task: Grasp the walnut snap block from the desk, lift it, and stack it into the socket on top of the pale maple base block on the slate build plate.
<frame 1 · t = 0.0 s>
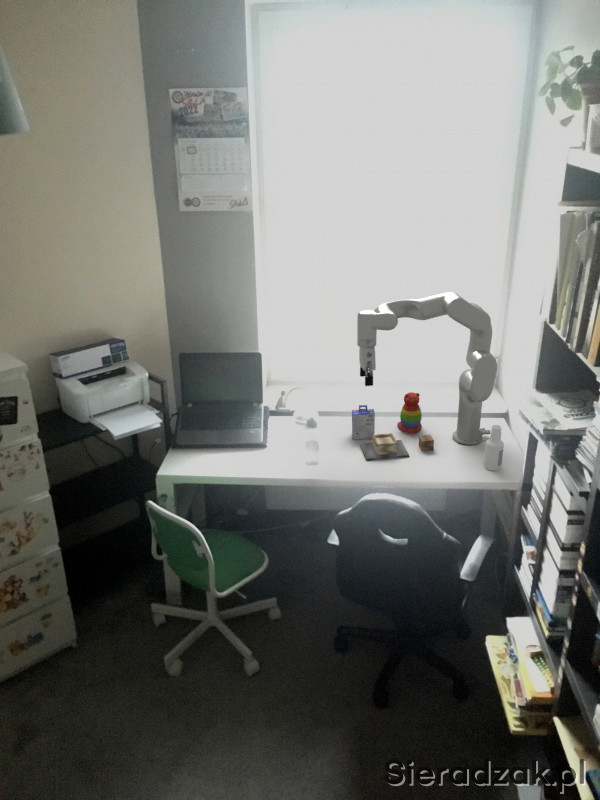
hand: (366, 380, 261), 31 cm above the table, fingers open, 9 cm apart
build base: (384, 451, 271), on the table
stacking bear: (410, 429, 288), on the table
ink cartridge box: (363, 436, 283), on the table
walnut block: (425, 448, 272), on the table
spray bottle: (492, 467, 257), on the table
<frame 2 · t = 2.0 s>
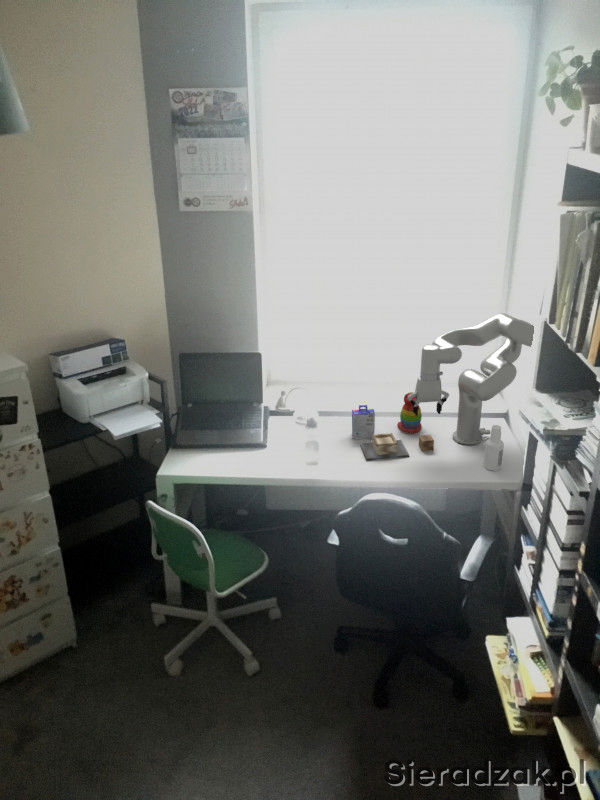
hand: (427, 413, 265), 17 cm above the table, fingers open, 9 cm apart
nothing on the table moved.
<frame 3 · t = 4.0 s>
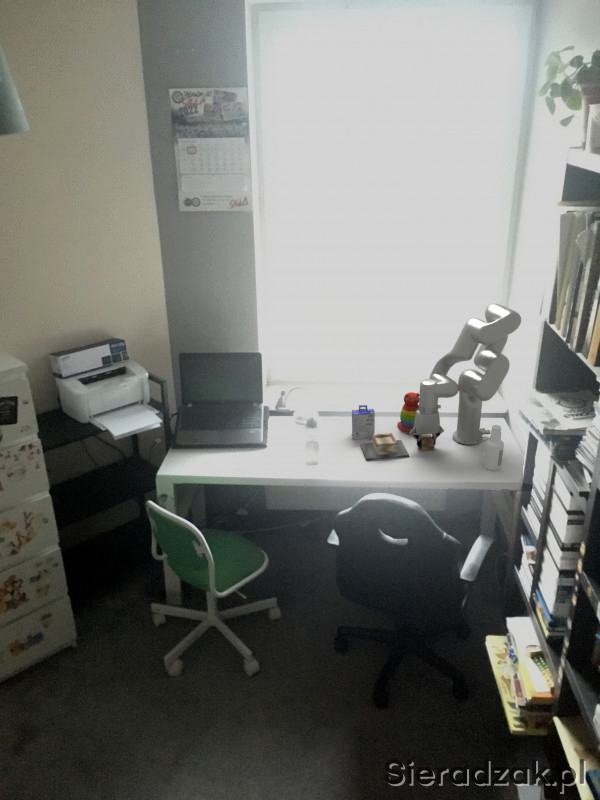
hand: (425, 446, 272), 1 cm above the table, fingers closed on walnut block, 5 cm apart
walnut block: (425, 448, 272), on the table, touching gripper
everything else where it was.
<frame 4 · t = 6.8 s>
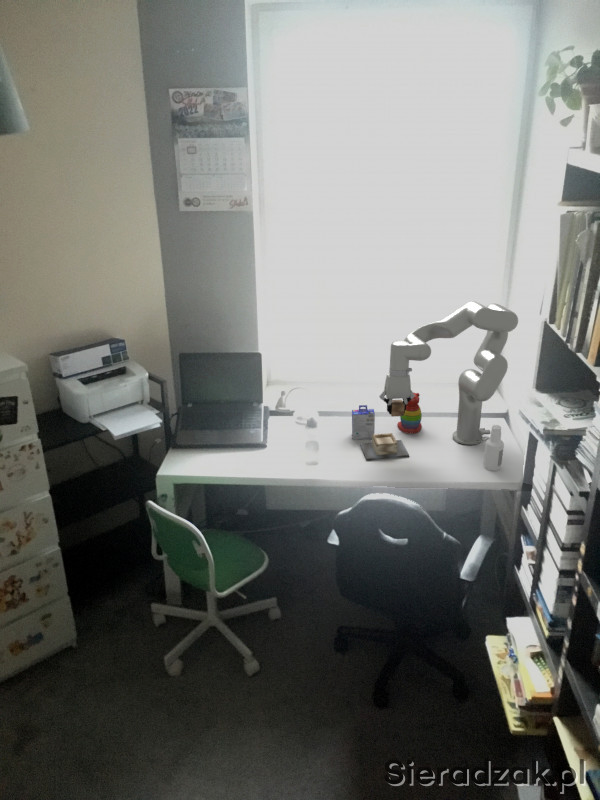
hand: (396, 411, 263), 18 cm above the table, fingers closed on walnut block, 5 cm apart
walnut block: (396, 413, 263), point 18 cm above the table, touching gripper
everything else where it was.
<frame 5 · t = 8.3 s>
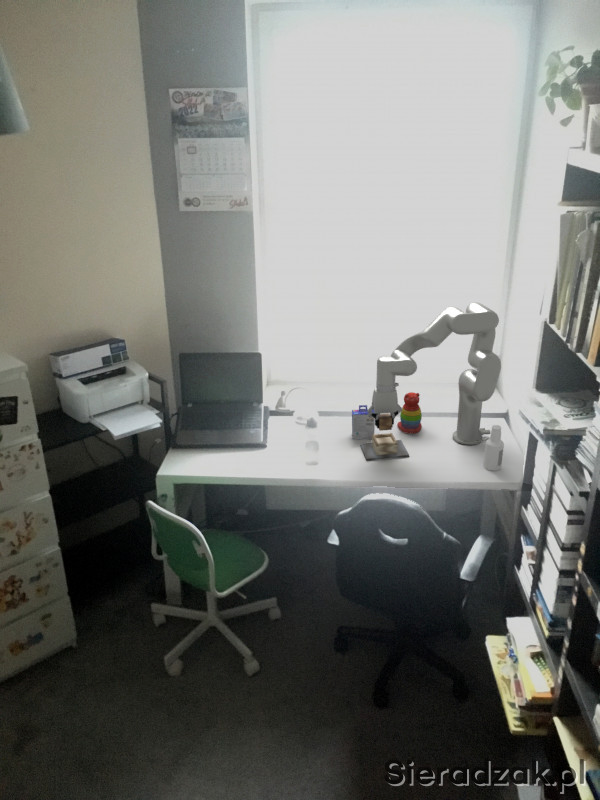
hand: (384, 426, 265), 12 cm above the table, fingers closed on walnut block, 5 cm apart
walnut block: (384, 427, 266), point 11 cm above the table, touching gripper
everything else where it was.
when the fingers open (7 cm above the table, at t = 9.6 s): walnut block drops 1 cm, resting on build base.
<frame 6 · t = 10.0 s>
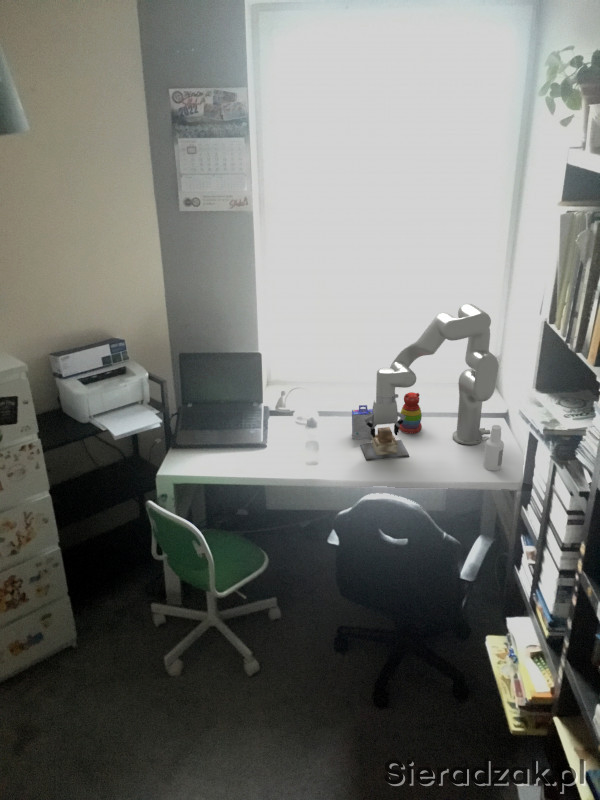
hand: (384, 435, 267), 8 cm above the table, fingers open, 9 cm apart
walnut block: (384, 440, 269), point 5 cm above the table, touching build base
everything else where it was.
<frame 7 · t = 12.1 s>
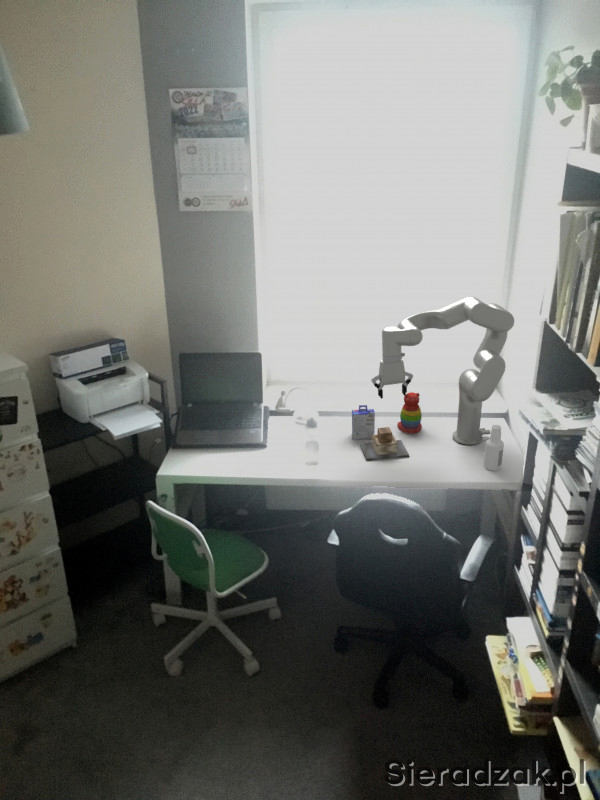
hand: (392, 395, 263), 24 cm above the table, fingers open, 9 cm apart
nothing on the table moved.
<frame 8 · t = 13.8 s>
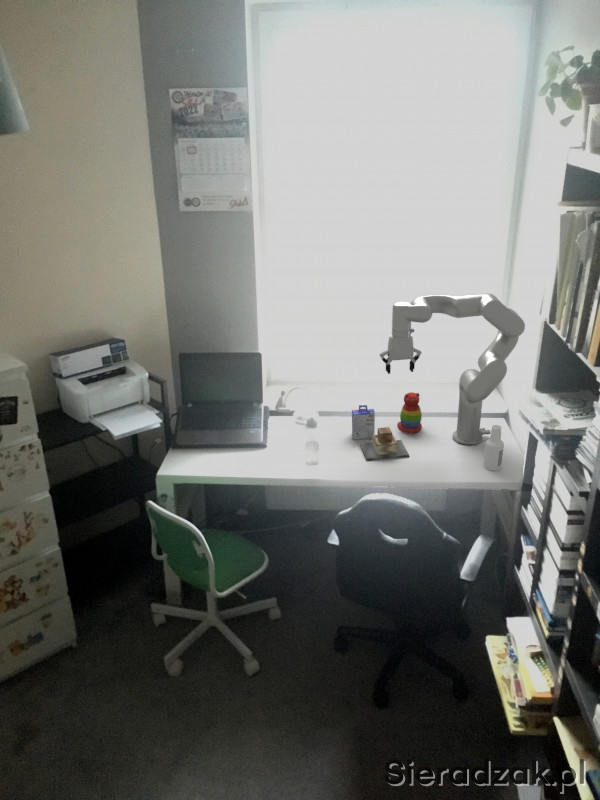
hand: (399, 371, 265), 32 cm above the table, fingers open, 9 cm apart
nothing on the table moved.
at the end: walnut block 0.1 cm off-centre on the build base, point 5.0 cm above the build base's base; walnut block tilted 0°; the gripper is holding nothing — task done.
